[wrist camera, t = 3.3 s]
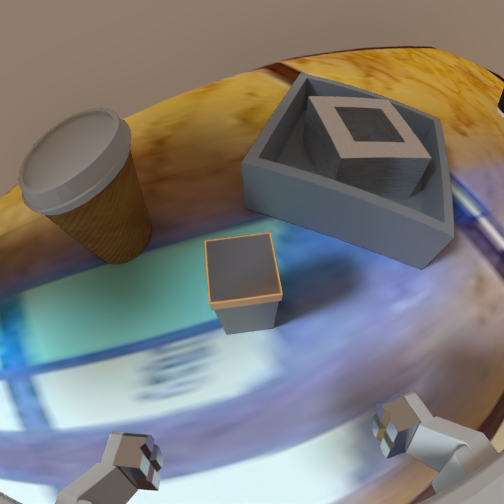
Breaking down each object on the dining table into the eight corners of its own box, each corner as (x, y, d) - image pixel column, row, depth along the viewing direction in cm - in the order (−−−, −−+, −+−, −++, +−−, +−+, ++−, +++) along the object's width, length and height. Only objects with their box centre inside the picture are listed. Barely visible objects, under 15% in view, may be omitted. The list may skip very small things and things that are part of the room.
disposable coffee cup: (141, 182, 29) (103, 92, 19) (186, 238, 26) (147, 135, 15) (72, 232, 26) (11, 156, 16) (103, 300, 23) (19, 227, 12)
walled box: (244, 208, 27) (241, 162, 22) (297, 110, 35) (301, 73, 30) (421, 269, 24) (454, 237, 18) (423, 153, 31) (440, 119, 26)
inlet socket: (327, 204, 26) (341, 158, 21) (302, 140, 30) (308, 96, 25) (408, 198, 26) (431, 158, 21) (375, 138, 31) (388, 99, 26)
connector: (225, 336, 22) (209, 304, 14) (220, 290, 23) (204, 240, 16) (274, 329, 22) (282, 294, 15) (267, 284, 23) (270, 231, 16)
